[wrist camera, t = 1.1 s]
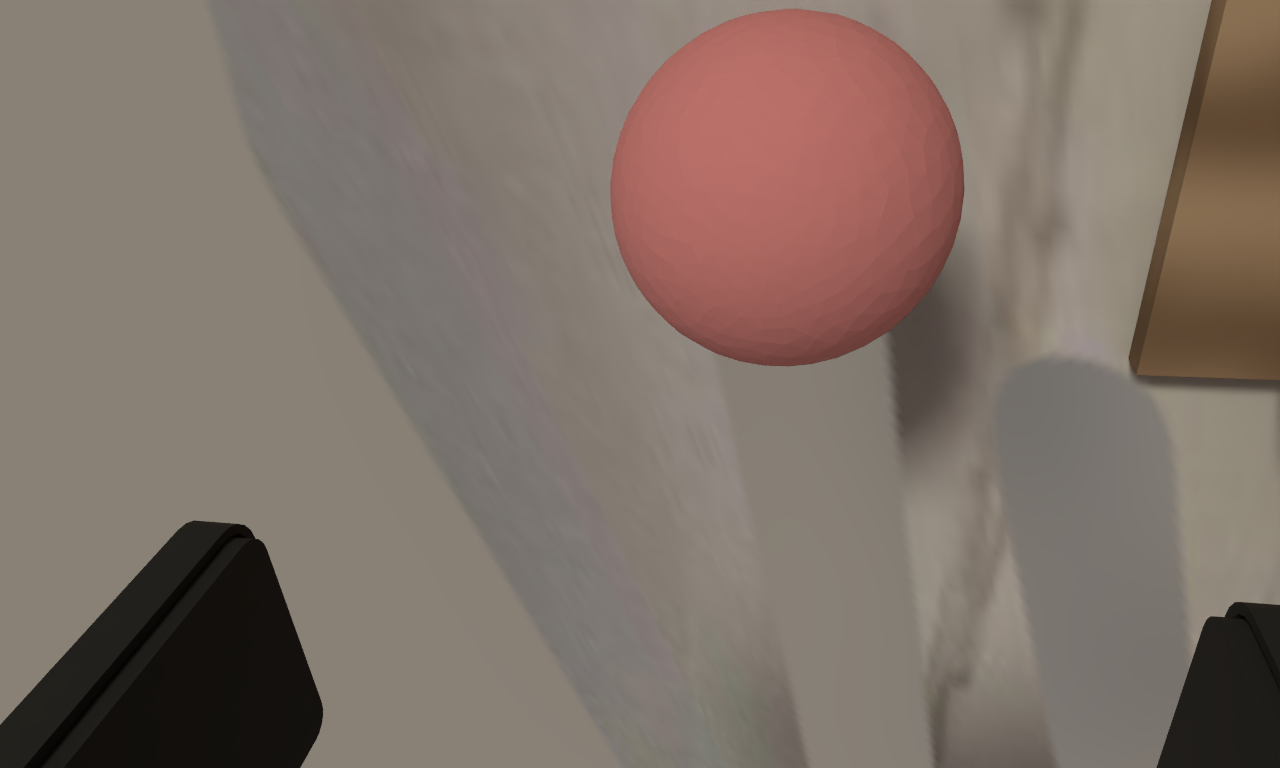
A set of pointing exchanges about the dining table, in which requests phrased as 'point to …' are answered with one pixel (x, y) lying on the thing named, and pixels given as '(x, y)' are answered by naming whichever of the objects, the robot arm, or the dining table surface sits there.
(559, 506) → the dining table surface
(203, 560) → the robot arm
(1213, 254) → the bulb holder
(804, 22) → the light bulb
